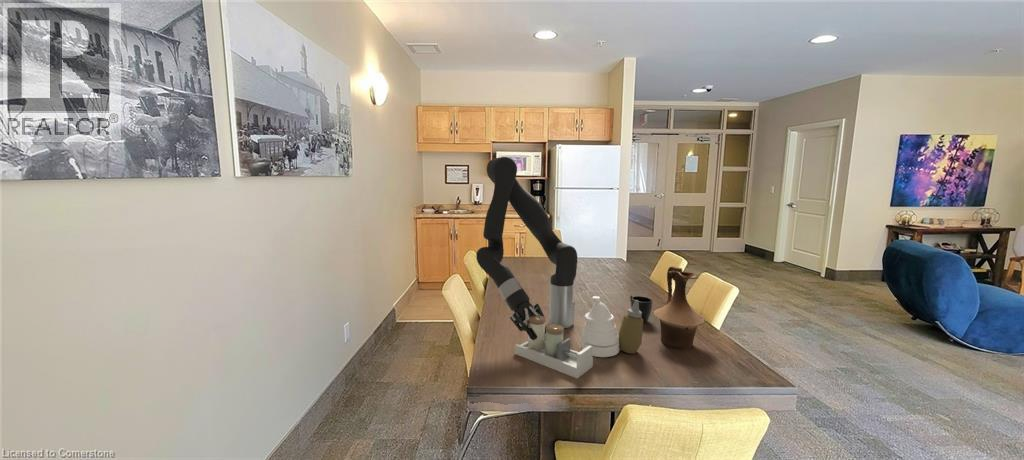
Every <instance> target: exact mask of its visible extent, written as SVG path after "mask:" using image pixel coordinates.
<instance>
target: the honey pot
mask: <svg viewBox="0 0 1024 460" xmlns="http://www.w3.org/2000/svg"><path fill="white" fill-rule="evenodd" d="M600 300H601V297H600V296H598V295H595V296H594V295H593V296H592V301H593V302H594V303H595V304H593V306H592V307H591V309H590V311H588V312H587V313H585V314H584V319H585V323H584V324H583V329H582V331H581V351H582V350H583V349H585V348H586V347H588V346H589V345H590V346H592V357H598V358H608V357H614V356H616V355H618V354H619V352H620V348H619V331H618V328H617V325H616V323H615V316H614V315H613V314H612V313H611V312H610V310H609V308H608V306H607V305H606V304H605V303H603V302H601V301H600Z"/></svg>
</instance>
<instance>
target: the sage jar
mask: <svg viewBox="0 0 1024 460" xmlns="http://www.w3.org/2000/svg"><path fill="white" fill-rule="evenodd" d="M545 326H546V334H545V341H546V347H545V355H548V356H551V357H553V358H556V354H557V345H558V344H560V343H561V342H563V341H564V331H565V328H564V327H563V326H561V325H556V324H551V325H550V324H547V325H545Z"/></svg>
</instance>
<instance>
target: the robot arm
mask: <svg viewBox="0 0 1024 460" xmlns="http://www.w3.org/2000/svg"><path fill="white" fill-rule="evenodd" d="M486 174H487V176H488V178H489V179H490V181H491V182H492V183H493V184H494V189H493V195H492V198H491V202H490V204H489V206H488V209H487V212H486V215H485V219H484V227H483V238H484V239H485V240H486V241H487V246H482V247H480V248H478V250H477V251H476V255H475V257H476V262H477V263H478V265H479V267H480V268H481V269H482V270H483V271H484V273H486V274H487V276H489V277H490V278H491V279H492V280H493V282H494V284H495V285H496V287H497V289H498V291H499V292H500V294H501V296H502V298H503V300H504V301H505V303H506V305H507V306H508V307H509V309H510V311H512V312H514V313H513V314H512V315H511V316H510V317H509V319H510V320H511V322H512V324H514V325H515V326H516V328H517V329H518V331H520V332H523V331H524V332H526V334H527V336H528V335H529V337H530V338H531V339H532V340H535V339H536V338H537V335H536V333H535V332H534V330H533V329H532V328H531V326H530V323H529V319H530V318H529V317H531V316H533V315H536V316H537V315H540V316H543V317H545V318H546V316H545V315H544V312H543V311H542V308H541V306H540V304H539V303H536V304H534V305H533V304H532V303H530V297H529V295H528V294H527V292H526V291H525V289H524V288H523V286H522V285H521V283H520V282H519V281H518V279H517V278H516V277H515V275H514V274H513V272H512V271H511V269H510V268H509V267H508V266H507V265H503V264H502V263H501V262H502V260H503V259H504V250H505V249H504V241H503V240H504V239H503V234H504V228H505V221H506V215H507V210H508V205H509V204H510V205H511V207H512V208H513V209H514V211H515V212H516V213H517V215H518V217H519V218H520V220H521V221H522V223H523V224H524V225H525V227H526V228H527V229H528V231H529V232H530V233H531V234H532V236H533V237H535V239H536V240H537V241H538V243H539V245H540V246H541V247H542V249H543V251H544V253H545V255H546V256H547V258H548V259H549V261H550V262H551V263H552V264H553V265H555V273H554V274H552V275H551V276H550V287H549V288H550V290H549V291H550V292H549V294H550V295H549V318H548V319H549V321H548V323H549V324H548V325H551V324H556V325H561V326H563V327H564V329H568V328H571V327H572V326H574V324H575V310H576V309H575V308H576V307H575V305H576V304H575V303H576V302H575V301H574V284H575V283H574V281H575V279H576V277H577V276H576V275H577V268H578V252H577V250H576V248H575V247H574V246H572V245H570V244H567V243H565V242H562V241H561V240H560V238H559V237H558V235H557V234H556V233H555V231H554V230H553V228H552V225H551V221H550V217H549V215H548V214H547V212H546V210H545V209H544V207H543V206H542V205H541V203H540V202H539V201H538V200H537V198H535V197H534V196H533V195H532V194H531V193H530V192H529V191H528V190H526V189H525V188H524V187H523V186H522V185H521V184H520V183H519V181H518V180H517V174H518V165H517V163H516V162H515V160H514V159H513V158H511V157H510V156H509V157H508V156H501V157H500V156H499V157H495V158H492V159H490V160H489V161H488V162H487V165H486ZM546 326H547V325H545V335H546Z"/></svg>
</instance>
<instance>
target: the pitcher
mask: <svg viewBox="0 0 1024 460" xmlns="http://www.w3.org/2000/svg"><path fill="white" fill-rule="evenodd" d="M667 269H668V270H667V272H666V282H667V301H666V303H665V304H664V306H662V307H660V308H657V309H655V310H654V312H653V314H654V316H655V317H656V318H658V319H659V322H660V341H661V343H662V344H663V345H664V346H665V345H666V346H667V347H669V348H671V349H672V348H673V349H675V348H677V349H676V350H689V349H691V347H692V348H693V346H694V345H693V344H694V339H695V336H696V332H697V328H698V327H699V326H702V325H704V324H705V323H706V322H705V321H706V320H705V318H704V316H702V315H701V314H700V313H699V312H697V311H696V310H695V309H694V308H693V307H692V306H691V305H690V304H689V302H688V300H687V296H686V294H687V293H686V288H687V287H686V286H687V282H688V281H689V280H695V279H697V278H698V276H697V275H696V273H693V272H689V271H683V268H682V267H679V266H674V265H673V266H669V267H668V268H667ZM672 281H674V292H673V282H672ZM688 348H689V349H688Z"/></svg>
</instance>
